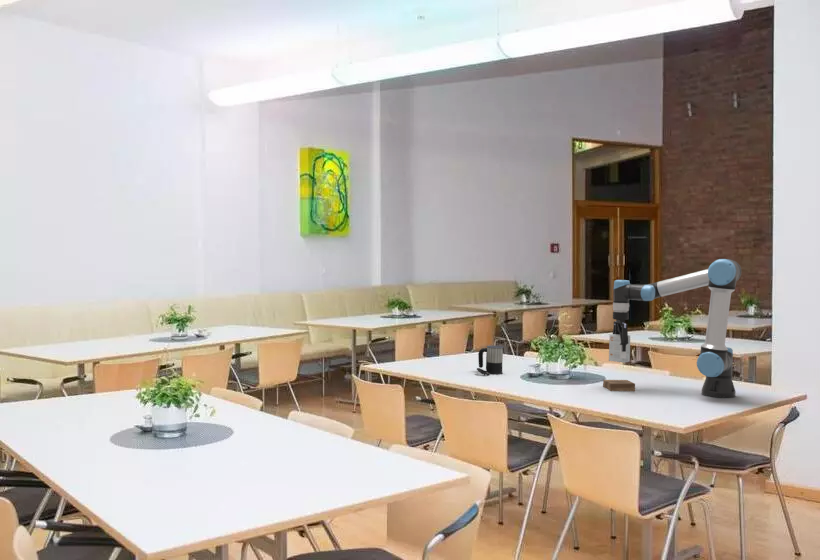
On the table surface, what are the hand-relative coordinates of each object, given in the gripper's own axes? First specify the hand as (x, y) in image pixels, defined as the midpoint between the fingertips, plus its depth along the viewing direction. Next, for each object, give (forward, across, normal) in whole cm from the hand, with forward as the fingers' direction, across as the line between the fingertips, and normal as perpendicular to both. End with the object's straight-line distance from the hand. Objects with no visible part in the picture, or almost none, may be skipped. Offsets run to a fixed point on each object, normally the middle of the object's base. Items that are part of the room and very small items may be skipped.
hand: (619, 356), depth 402 cm
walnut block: (+16, 0, 0) cm, 16 cm away
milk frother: (+16, +46, +56) cm, 75 cm away
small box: (+2, 0, 0) cm, 3 cm away
